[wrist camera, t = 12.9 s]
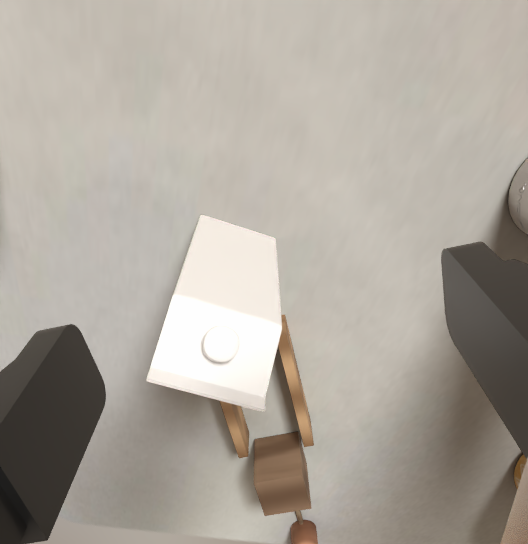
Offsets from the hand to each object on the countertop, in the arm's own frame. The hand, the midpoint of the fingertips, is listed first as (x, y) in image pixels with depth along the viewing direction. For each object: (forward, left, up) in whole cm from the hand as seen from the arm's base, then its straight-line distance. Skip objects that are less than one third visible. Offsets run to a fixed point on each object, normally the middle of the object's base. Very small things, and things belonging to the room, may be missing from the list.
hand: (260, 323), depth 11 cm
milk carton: (+6, +12, -32) cm, 35 cm away
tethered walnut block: (+6, +43, -32) cm, 54 cm away
